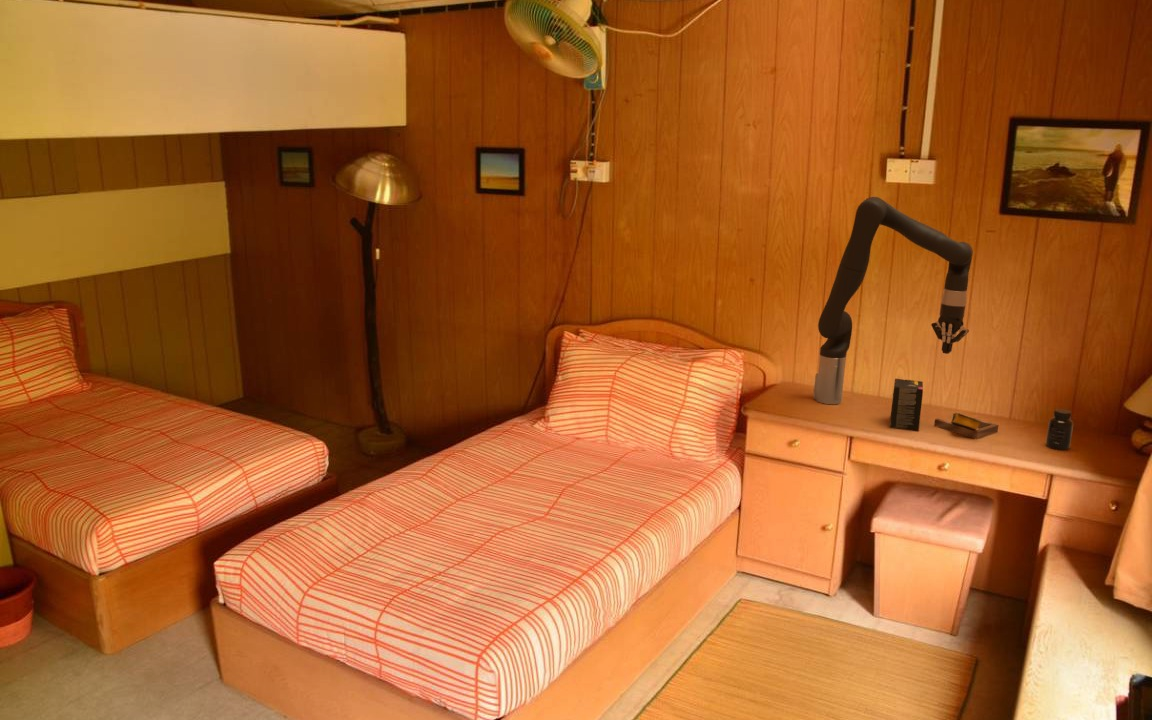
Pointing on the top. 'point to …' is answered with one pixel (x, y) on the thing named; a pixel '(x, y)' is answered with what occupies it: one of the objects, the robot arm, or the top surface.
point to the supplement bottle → (1060, 430)
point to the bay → (984, 431)
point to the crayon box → (965, 421)
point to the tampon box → (906, 404)
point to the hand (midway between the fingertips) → (946, 353)
